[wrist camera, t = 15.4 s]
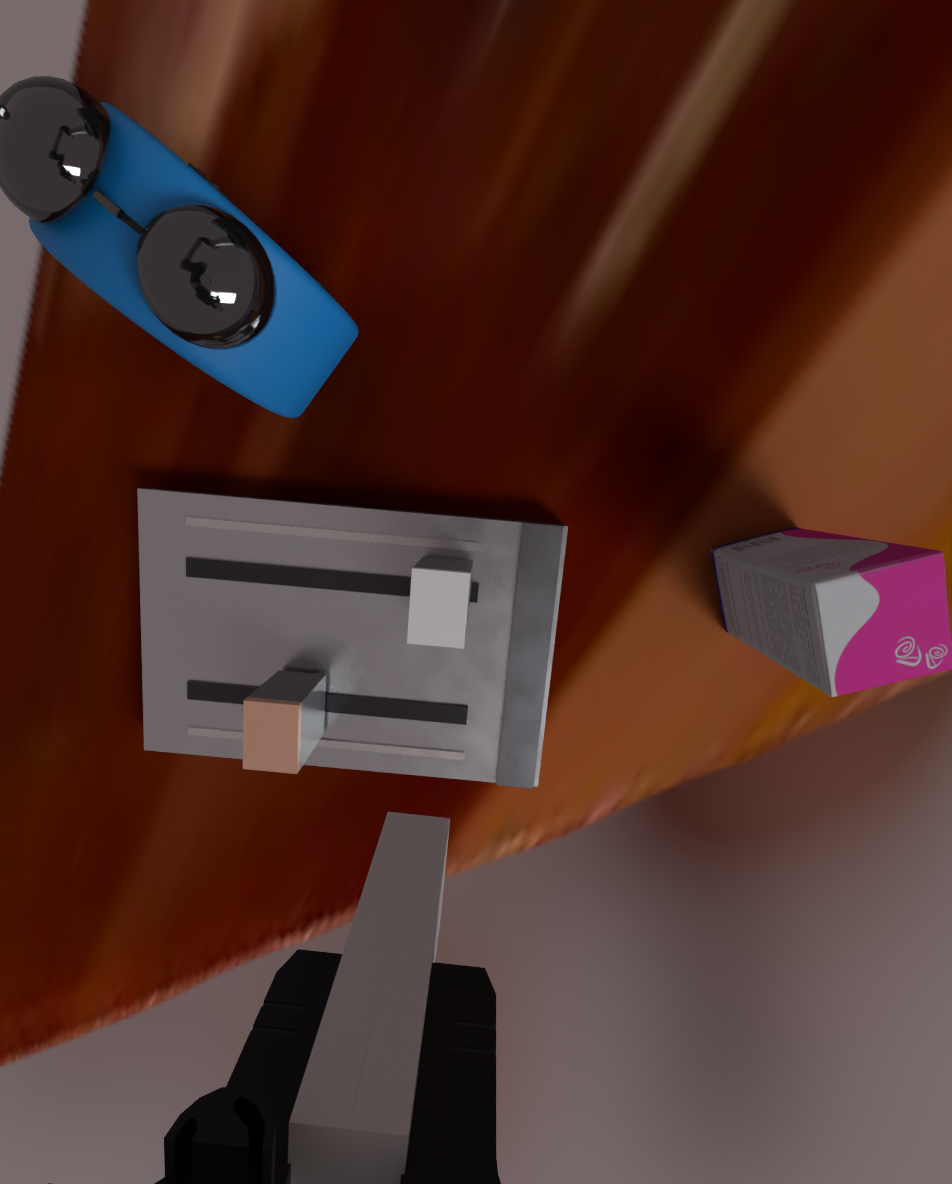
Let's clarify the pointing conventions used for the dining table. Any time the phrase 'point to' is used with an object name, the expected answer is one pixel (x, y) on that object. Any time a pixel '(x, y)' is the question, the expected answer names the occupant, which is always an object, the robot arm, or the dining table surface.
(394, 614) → the console
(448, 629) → the fader white
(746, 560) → the supplement box
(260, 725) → the fader terracotta
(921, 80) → the dining table surface
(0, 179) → the alarm clock
